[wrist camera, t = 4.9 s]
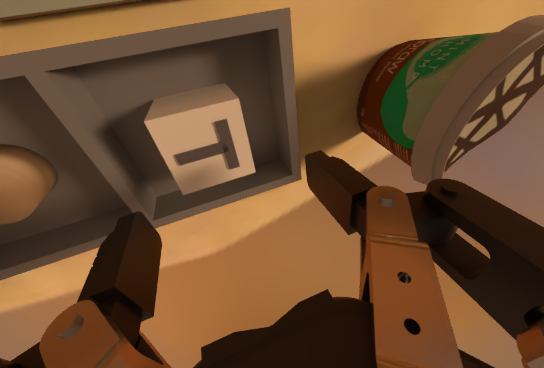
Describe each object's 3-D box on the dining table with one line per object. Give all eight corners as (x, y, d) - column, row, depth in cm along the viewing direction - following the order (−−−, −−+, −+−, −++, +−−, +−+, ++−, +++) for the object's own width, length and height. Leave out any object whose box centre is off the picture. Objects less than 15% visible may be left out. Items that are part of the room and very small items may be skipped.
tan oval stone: (-50, 154, 12) (-104, 180, 10) (26, 136, 13) (-7, 157, 11) (10, 202, 15) (-22, 232, 13) (72, 185, 16) (52, 211, 13)
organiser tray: (-263, 104, 10) (-440, 130, 7) (269, 13, 14) (289, 7, 11) (-9, 254, 17) (-46, 295, 14) (286, 161, 22) (301, 179, 19)
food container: (432, -19, 17) (648, -67, 9) (446, 45, 20) (608, 49, 13) (323, 106, 19) (414, 151, 12) (352, 142, 23) (437, 194, 15)
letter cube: (154, 98, 14) (143, 122, 10) (224, 82, 15) (239, 98, 11) (183, 160, 17) (183, 196, 13) (240, 143, 18) (256, 173, 14)
